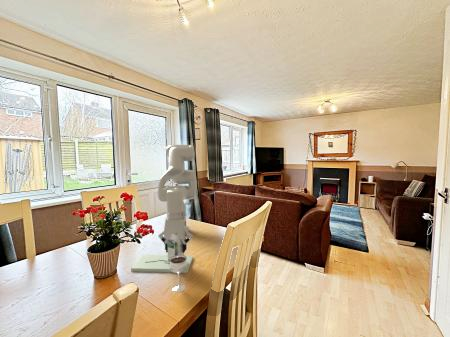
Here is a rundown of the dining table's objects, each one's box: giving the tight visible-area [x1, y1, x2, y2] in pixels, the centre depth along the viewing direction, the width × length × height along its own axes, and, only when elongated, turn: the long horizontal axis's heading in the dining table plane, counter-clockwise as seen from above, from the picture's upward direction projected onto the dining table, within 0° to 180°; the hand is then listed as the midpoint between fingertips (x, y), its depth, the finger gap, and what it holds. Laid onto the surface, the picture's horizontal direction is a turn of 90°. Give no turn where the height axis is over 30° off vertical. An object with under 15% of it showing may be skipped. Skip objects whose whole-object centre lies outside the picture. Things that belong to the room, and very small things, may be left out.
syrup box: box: [167, 234, 185, 262], centre depth 93 cm, size 6×6×14 cm
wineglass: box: [170, 254, 187, 293], centre depth 77 cm, size 7×7×12 cm
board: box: [130, 254, 194, 274], centre depth 94 cm, size 12×26×2 cm, turn 87°
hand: (175, 251), depth 94 cm, fingers closed on syrup box, 7 cm apart
